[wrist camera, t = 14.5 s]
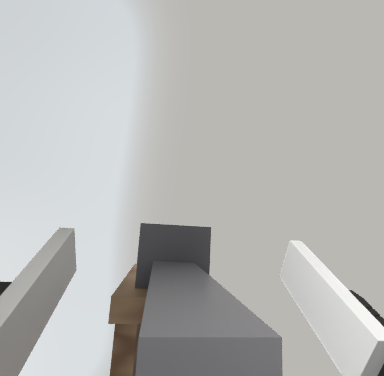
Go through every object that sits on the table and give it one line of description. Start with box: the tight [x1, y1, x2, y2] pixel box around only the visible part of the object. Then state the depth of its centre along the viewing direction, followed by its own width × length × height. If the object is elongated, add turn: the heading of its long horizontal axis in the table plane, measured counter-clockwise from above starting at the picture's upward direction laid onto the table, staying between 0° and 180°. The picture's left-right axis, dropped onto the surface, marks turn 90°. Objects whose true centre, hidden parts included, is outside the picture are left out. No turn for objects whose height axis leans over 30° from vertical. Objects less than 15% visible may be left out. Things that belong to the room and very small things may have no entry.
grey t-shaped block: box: [135, 223, 282, 376], centre depth 19 cm, size 7×25×6 cm, turn 8°
